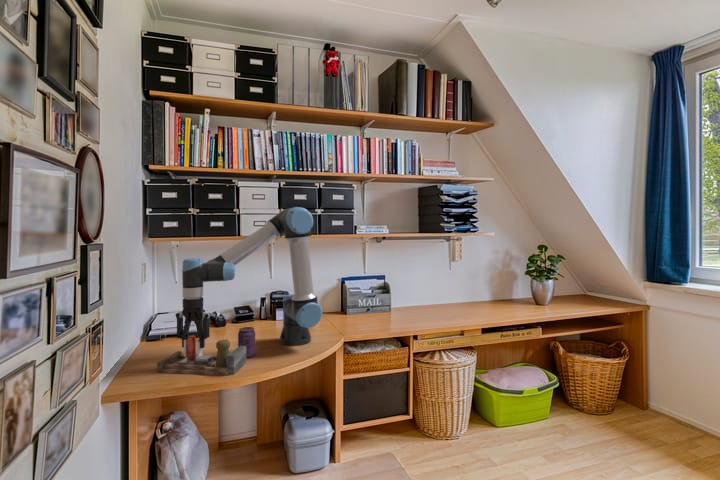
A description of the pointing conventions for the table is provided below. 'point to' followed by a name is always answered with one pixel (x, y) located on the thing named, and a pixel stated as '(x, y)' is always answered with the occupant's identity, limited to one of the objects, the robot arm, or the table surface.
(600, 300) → the table surface
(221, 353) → the cork
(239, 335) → the beverage can
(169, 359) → the base
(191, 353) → the ram
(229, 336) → the table surface
